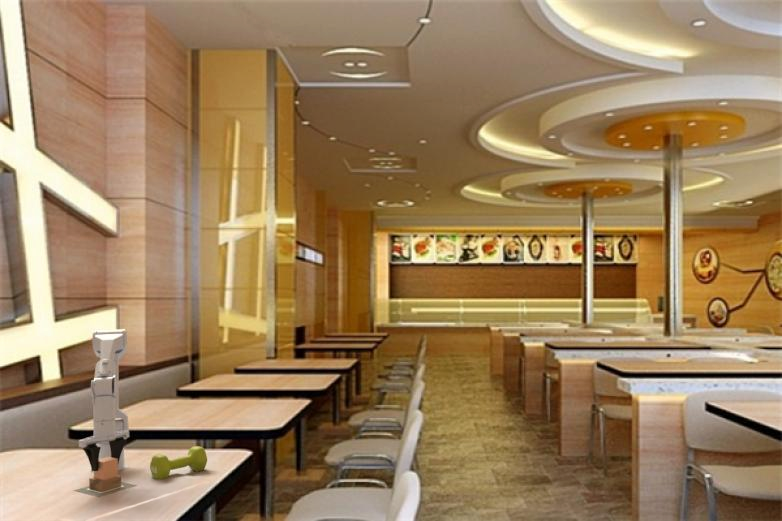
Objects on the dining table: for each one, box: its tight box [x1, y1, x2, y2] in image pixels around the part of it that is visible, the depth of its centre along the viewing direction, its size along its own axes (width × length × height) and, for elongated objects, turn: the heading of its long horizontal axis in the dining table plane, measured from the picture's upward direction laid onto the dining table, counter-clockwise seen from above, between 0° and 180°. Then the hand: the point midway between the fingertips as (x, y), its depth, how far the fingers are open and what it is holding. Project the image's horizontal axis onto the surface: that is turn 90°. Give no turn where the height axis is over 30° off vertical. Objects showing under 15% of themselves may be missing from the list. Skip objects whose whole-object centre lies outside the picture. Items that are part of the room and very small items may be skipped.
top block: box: [93, 457, 119, 480], centre depth 192 cm, size 4×4×5 cm
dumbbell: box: [149, 445, 208, 480], centre depth 207 cm, size 16×8×7 cm, turn 137°
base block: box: [88, 474, 122, 492], centre depth 193 cm, size 6×6×3 cm
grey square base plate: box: [73, 481, 138, 498], centre depth 192 cm, size 12×12×1 cm
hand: (105, 467), depth 193 cm, fingers open, 6 cm apart
